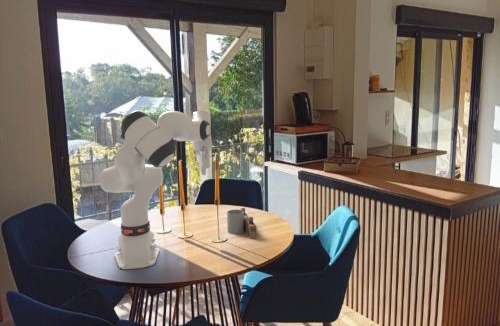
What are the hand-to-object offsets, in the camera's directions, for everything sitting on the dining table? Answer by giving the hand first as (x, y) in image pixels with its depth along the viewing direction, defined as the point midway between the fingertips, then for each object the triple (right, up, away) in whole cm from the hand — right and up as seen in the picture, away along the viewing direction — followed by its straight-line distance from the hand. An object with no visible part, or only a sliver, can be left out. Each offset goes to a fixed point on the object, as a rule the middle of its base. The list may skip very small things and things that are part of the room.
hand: (203, 174), depth 191 cm
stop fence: (+21, -28, +10) cm, 36 cm away
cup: (+15, -29, +9) cm, 34 cm away
